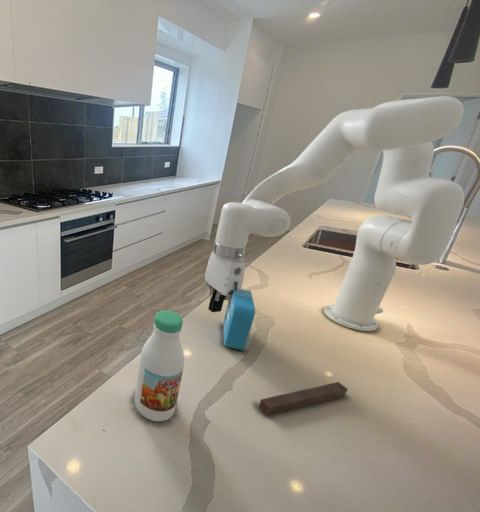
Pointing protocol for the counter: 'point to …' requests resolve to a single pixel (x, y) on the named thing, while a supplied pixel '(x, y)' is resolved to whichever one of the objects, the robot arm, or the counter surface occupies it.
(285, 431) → the counter surface
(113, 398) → the counter surface
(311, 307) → the counter surface
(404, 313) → the counter surface
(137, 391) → the milk bottle
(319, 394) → the strip
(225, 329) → the data package
